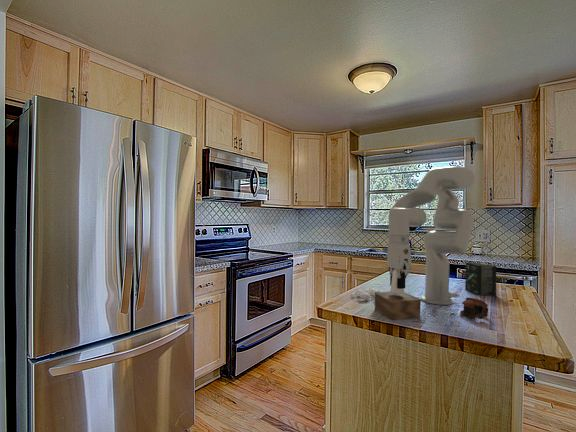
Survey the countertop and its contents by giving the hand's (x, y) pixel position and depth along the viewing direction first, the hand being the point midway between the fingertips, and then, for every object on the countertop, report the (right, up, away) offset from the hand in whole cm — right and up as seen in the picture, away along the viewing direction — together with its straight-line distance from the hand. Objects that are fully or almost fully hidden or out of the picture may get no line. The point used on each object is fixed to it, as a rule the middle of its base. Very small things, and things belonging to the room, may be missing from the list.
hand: (397, 286), depth 119 cm
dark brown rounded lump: (+29, -12, -3) cm, 31 cm away
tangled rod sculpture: (-6, -11, +24) cm, 27 cm away
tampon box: (+55, -12, +36) cm, 67 cm away
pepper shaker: (0, -2, 0) cm, 2 cm away
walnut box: (0, -11, 0) cm, 11 cm away
